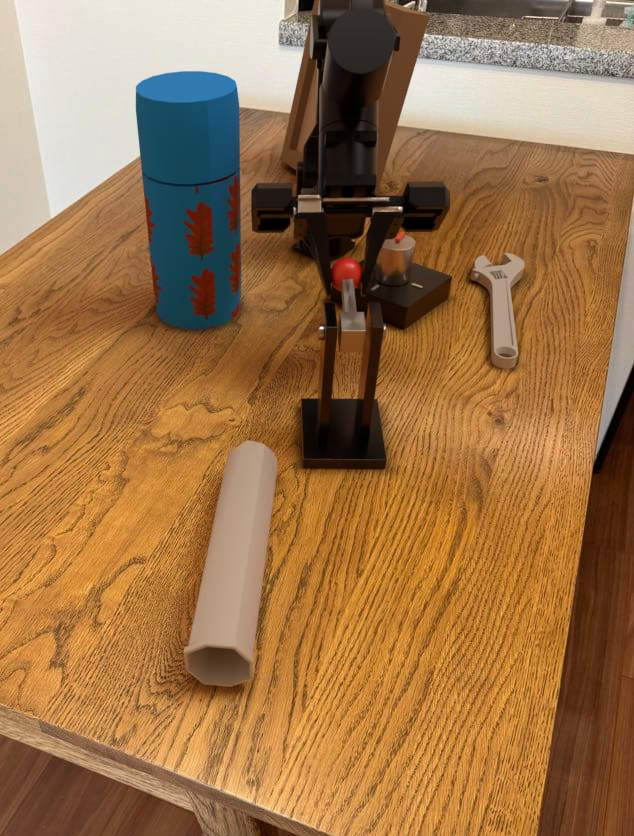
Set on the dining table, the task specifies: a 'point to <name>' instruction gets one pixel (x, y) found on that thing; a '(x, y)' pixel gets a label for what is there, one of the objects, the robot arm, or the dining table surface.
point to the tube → (234, 570)
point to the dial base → (403, 296)
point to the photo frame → (389, 102)
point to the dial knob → (395, 260)
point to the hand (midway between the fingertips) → (346, 295)
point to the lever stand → (345, 404)
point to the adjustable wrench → (500, 305)
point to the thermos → (192, 195)
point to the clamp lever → (349, 305)
